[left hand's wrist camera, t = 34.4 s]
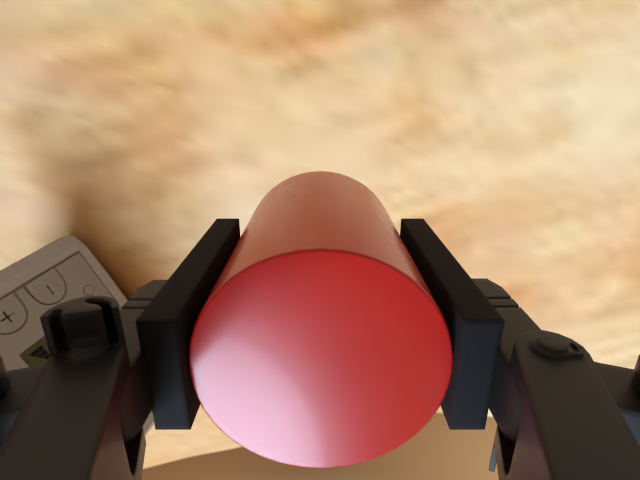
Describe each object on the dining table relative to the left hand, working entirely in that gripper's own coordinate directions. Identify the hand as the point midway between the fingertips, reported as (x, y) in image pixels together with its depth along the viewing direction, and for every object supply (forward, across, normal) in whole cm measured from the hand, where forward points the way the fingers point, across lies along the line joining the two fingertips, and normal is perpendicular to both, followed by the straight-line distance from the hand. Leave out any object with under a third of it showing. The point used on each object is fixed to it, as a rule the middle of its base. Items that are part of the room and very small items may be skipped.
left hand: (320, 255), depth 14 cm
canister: (+2, 0, 0) cm, 2 cm away
